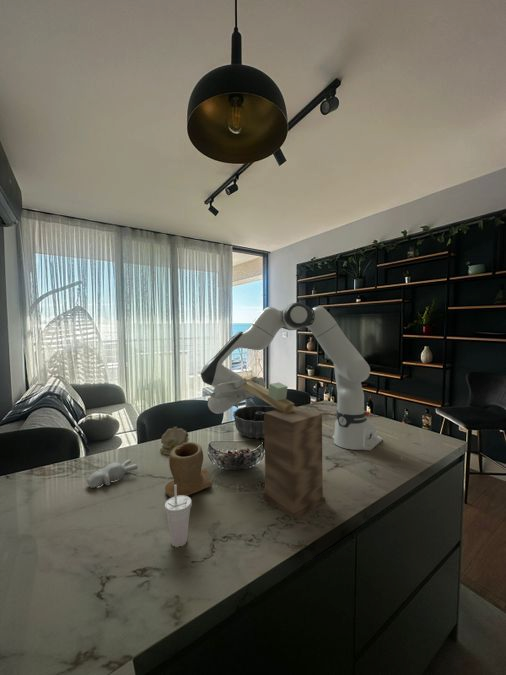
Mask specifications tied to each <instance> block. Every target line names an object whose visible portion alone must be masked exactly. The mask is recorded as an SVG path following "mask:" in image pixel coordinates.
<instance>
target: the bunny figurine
mask: <svg viewBox="0 0 506 675" xmlns="http://www.w3.org/2000/svg"><path fill="white" fill-rule="evenodd" d="M131 462H132V460H131V459H130V458H129V459H125V461H123V462H122V463H119V462H116V461H114V462H111V463H109V464H107V465H106V466H105V467H104V468H98V469H97V471H94V472H92V474H90V476H89V478H87V479H86V483H87V485H88V486H89V487H90V489H93V488H94V489H96V488H95V487H98V486H101V485H102V484H104V485H105V486H110V485H111V483H110V482H111V481H115V480H118V479H120V480H122V479H123V478H124V475H125V473H127V472H131V471H137V470H138V469H139V468H138V463H134V464H131ZM129 464H131V465H129ZM121 478H122V479H121ZM118 481H119V480H118Z"/></svg>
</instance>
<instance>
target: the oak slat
mask: <svg viewBox="0 0 506 675" xmlns="http://www.w3.org/2000/svg"><path fill="white" fill-rule="evenodd" d="M243 389H245V390H247V391H248V392H250V393H252V394H253V395H254V396H255V397H257V398H258V399H260V400H262V401H264V402H265V403H266V404H268V405H269V406H273V407H275V408H277V409H278V410H280V411H282V412H283V413H289V412H292V411H293V410H294V406H295V403H294V402H292V401H290V400H289V399H287V398H286V399H282V400H278V401H276V400H274V399H273V398H271V397H269V396H268V393H269V388H267V387H263V386H261V385H259V384H257V383H255V382H254V381H252V380H250V381H247V383H246V384H244V385H243Z"/></svg>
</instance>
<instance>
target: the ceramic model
mask: <svg viewBox="0 0 506 675" xmlns="http://www.w3.org/2000/svg"><path fill="white" fill-rule="evenodd" d="M188 442H189V433H188V431H186V430H185V429H184V428H181V427H180V428H179V427H178V426H173V427H171V428H168V429H166V431H165V432H164V433H163V434H162V435H161V440H160V444H162V446H161V448H160V449H159V453H160V454H162V453H163V454H162V455H164V454H167V455H166V456H170V453H171V451H172V450H173V449H174V448H175V447H177V446H179V445H181V444H183V443H188Z"/></svg>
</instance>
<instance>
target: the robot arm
mask: <svg viewBox="0 0 506 675" xmlns="http://www.w3.org/2000/svg"><path fill="white" fill-rule="evenodd" d="M302 328H307V329H308V330H309V331H310V332H311V333H312V335H313V336H314V338H315V340H316V341H317V342H318V344H319V345H320V347H321V349H322V350H323V351H324V353H325V355H326V356H328V358H329V359H330V361H331V362H332V363H333V369H334V377H335V385H336V392H337V393H336V394H337V395H336V396H337V398H336V399H337V402H336V403H337V410H336V414H335V415H336V420H335V422H334V433H333V435H332V439H333V442H334V444H335V445H337V446H338V447H340V448H342V449H345V450H346V449H347V450H353V451H354V450H357V451H361V450H363V451H372V450H373V449H374V448H375V447H377V446H378V445H379V443H381V442H382V441H383V437H381V436H380V435H377V429H376V426H374V424H372V423H371V422H370V421H369V420H368V418H367V417H369V416H371V415H370V414H371V411H368V410H365V394H364V389H363V386H362V382H365V381H366V380H368V378H369V377H370V376H371V375H370V374H371V367H370V365H369V364H368V361H366V359H364V357H363V355H361V353H360V352H359V350H358V349H356V347H355V346H354V345H353V343H352V342H351V341H350V340H349V339H348V338H347V336H346V335H345V334H344V332H343V330H342V329H341V327H340V326H339V325H338V322H336V320H335V318H334V317H333V316H332V314H330V312H329V311H328V310H327V309H325V307H323V306H314V307H311V306H308V305H306V304H305V303H301V302H293V303H290V304H289V305H287V306H286V307H284V308H283V309H282V310H279V309H277V308H275V307H272V306H267V307H264V308H263V309H262V311H261V312H260V313H259V314H258V315H257V317H256V318H255V319H254V321H253V322H252V324H251V325H250V326H249V327H248V328H247V329H246V330H244V331H238V332H236V333H235V334H234V335H233V336H232V337H231V338H230V339H229V340H228V341H227V342H226V343H225V344H224V345H223V347H222V348H220V349H219V351H218V352H217V353H216V354H215V355H214V356H213V358H211V359H210V360H209V361H208V362H207V363H206V364H204V366H203V367H202V369H201V371H200V377H201V381H202V382H203V383H204V384H206V385H209V386H212V388H214V389H213V392H211V394H210V395H209V397H210V398H209V399H208V402H207V406H208V409H209V411H211V412H212V413H214V414H217V415H218V414H223V413H225V412H227V411H228V410H230V409H231V408H232V407H235V406H237V405H238V404H240V403H241V402H243V401H246V400H248V399H251V398H254V396H255V395H253V394H252V393H250V392H248V391H247V390H245V389H243V385H244V384H246V383H247V381H250V380H252V381H254V382H255V383H257V384H259V385H261V386H263V387H265V386H266V382H265V379H264V378H263V377H258V376H253V377H251V378H248V379H247V378H246V377H244V378H243V377H242V376H241V375H240V374H238V373H237V372H235V371H233V370H231V369H230V368H228V367H226V366H225V365H224V364H223V363H224V362H225V361H226V359H228V357H230V356H231V354H232V353H233V352H234V351H235V350H238V349H248V350H253V351H262V350H264V349H267V347H269V345H271V343H272V341H273V340H274V338H275V337H276V335H277V333H278V332H279V331H280V330H281V329H285V330H288V331H297V330H300V329H302ZM265 388H266V387H265Z"/></svg>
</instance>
